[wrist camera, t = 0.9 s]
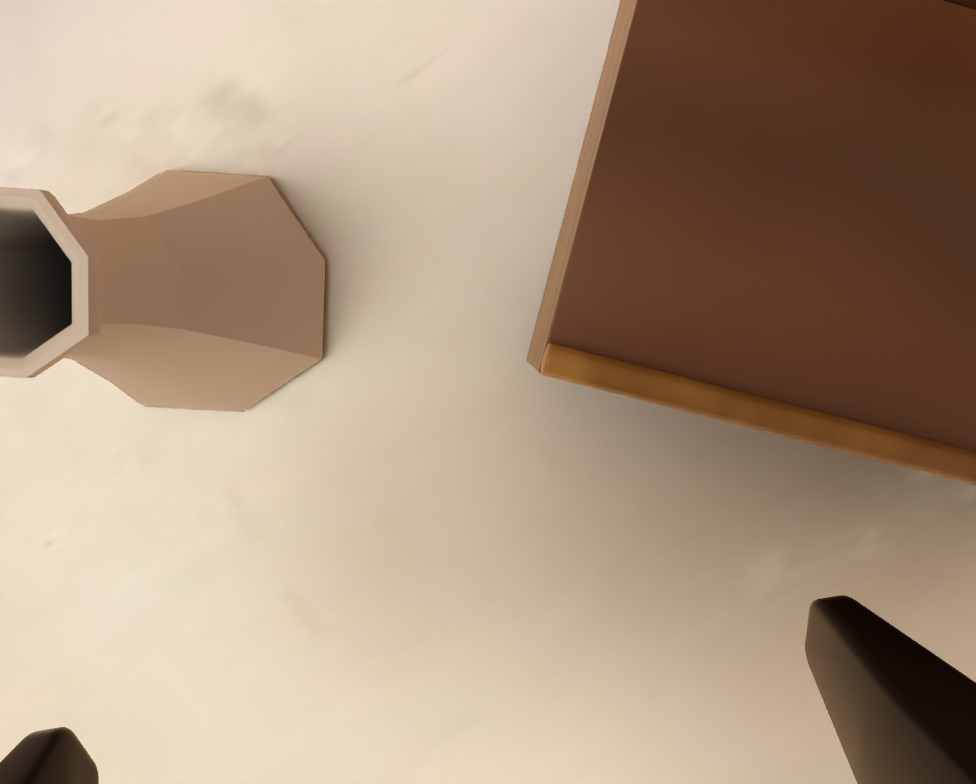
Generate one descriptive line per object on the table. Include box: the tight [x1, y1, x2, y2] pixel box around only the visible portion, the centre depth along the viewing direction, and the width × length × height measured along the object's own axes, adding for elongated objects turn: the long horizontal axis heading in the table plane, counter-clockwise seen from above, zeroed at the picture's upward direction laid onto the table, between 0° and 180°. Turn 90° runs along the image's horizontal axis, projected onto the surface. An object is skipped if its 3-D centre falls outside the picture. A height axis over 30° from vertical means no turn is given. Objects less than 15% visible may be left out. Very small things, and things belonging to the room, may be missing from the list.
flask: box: [0, 170, 325, 412], centre depth 17 cm, size 7×7×10 cm
